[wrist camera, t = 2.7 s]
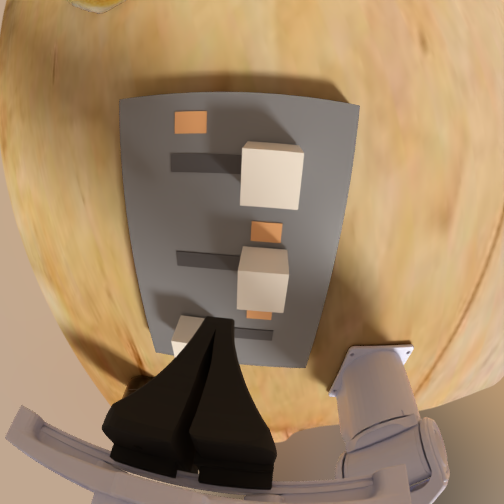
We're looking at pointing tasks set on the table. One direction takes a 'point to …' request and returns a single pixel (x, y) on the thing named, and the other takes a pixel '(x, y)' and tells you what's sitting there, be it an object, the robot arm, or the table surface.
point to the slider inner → (184, 332)
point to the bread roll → (96, 5)
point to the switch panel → (232, 211)
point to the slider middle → (262, 279)
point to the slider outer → (271, 175)
